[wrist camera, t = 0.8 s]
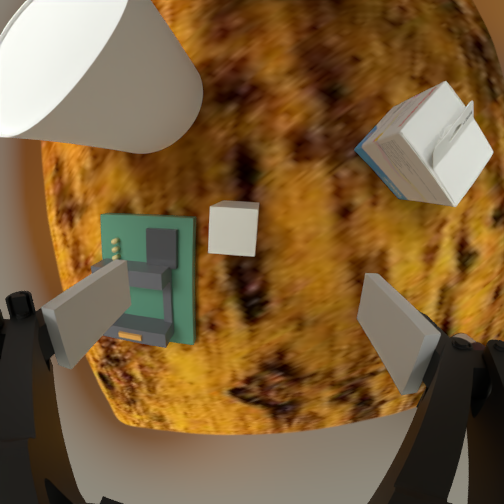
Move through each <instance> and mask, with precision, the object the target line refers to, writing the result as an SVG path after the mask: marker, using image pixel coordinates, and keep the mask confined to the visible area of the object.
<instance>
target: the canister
mask: <svg viewBox="0 0 504 504" xmlns="http://www.w3.org/2000/svg"><path fill="white" fill-rule="evenodd" d="M202 99H203V85H202V80H201V77H200V75H199V73H198V71H197V70H196V68H195V66H194V65H193V63H192V62H191V60H190V58H189V57H188V55H187V54H186V52H185V51H184V49H183V48H182V46H181V45H180V43H179V41H178V40H177V38H176V37H175V35H174V34H173V32H172V31H171V29H170V28H169V26H168V25H167V23H166V22H165V20H164V19H163V18H162V16H161V15H160V13H159V12H158V10H157V9H156V7H155V6H154V4H153V3H152V2H151V0H27V1H26V2H25V3H24V4H23V5H22V6H21V7H20V8H19V9H18V11H17V12H16V13H15V15H14V16H13V17H12V19H11V20H10V21H9V22H8V24H7V26H6V27H5V28H4V30H3V32H2V33H1V35H0V137H9V138H24V139H36V140H45V141H55V142H63V143H71V144H79V145H86V146H93V147H100V148H106V149H112V150H118V151H124V152H130V153H136V154H147V153H153V152H156V151H159V150H162V149H164V148H166V147H168V146H170V145H172V144H173V143H175V142H176V141H177V140H179V139H180V138H181V137H182V136H183V135H184V134H185V133H186V132H187V131H188V130H189V128H190V127H191V126H192V124H193V123H194V121H195V119H196V118H197V115H198V113H199V111H200V108H201V104H202Z"/></svg>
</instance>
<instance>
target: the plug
mask: <svg viewBox="0 0 504 504" xmlns="http://www.w3.org/2000/svg"><path fill="white" fill-rule="evenodd" d="M258 215H259V203H257V202H242V201H226V200H223V201H221V202H219V203H217V204H214V205H212V206H210V217H209V243H208V253H214V254H225V255H238V256H253V257H255V250H256V241H257V229H258Z"/></svg>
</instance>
